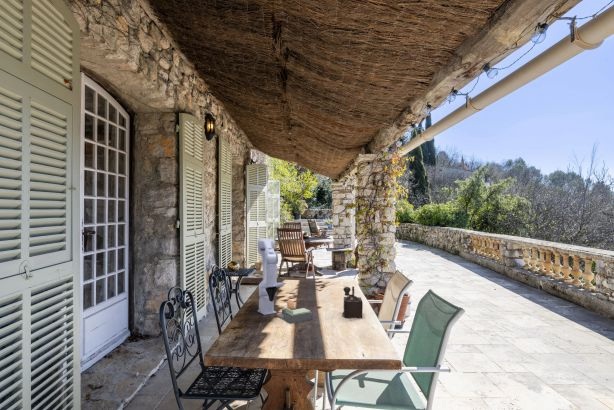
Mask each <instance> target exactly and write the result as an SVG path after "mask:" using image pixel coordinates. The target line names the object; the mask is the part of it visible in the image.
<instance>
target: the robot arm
mask: <svg viewBox="0 0 614 410" xmlns="http://www.w3.org/2000/svg"><path fill="white" fill-rule="evenodd" d="M257 252H258V254H259V255H261V259H262V279H263V280H262V281H261V282H259V284H258V297H259V298H258V309H257V312H258V313H260V314H263V315H265V316H266V315H272V314H278V313H277V311H275V310H274V309H275V307H274V306H275V304H274V302H275V297H276V296H277V294H278V293H277V291H278V288H280V287H285V283H284V282H277V281H278V280H277V277H278V276H277V274H278V270H277V269H278V268H277V267H278V262H279V257H278V256H279V255H278V253H276V252H275V239H274V238H273V237H272V238H258V239H257Z"/></svg>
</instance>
